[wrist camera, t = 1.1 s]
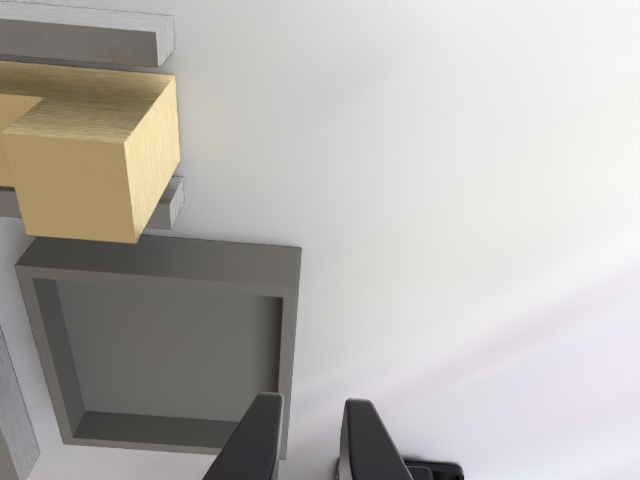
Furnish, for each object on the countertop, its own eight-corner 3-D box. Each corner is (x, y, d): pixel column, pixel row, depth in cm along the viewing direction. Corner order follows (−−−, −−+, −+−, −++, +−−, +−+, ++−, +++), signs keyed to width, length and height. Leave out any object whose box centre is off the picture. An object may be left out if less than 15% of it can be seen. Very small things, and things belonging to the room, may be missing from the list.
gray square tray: (289, 415, 28) (285, 460, 26) (83, 400, 28) (63, 444, 25) (301, 247, 22) (298, 287, 20) (44, 227, 22) (14, 265, 20)
